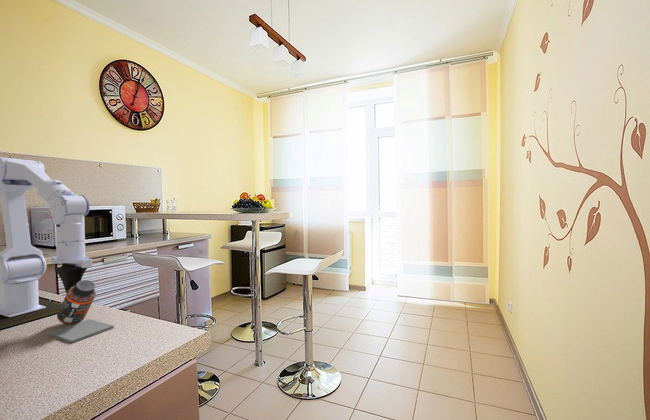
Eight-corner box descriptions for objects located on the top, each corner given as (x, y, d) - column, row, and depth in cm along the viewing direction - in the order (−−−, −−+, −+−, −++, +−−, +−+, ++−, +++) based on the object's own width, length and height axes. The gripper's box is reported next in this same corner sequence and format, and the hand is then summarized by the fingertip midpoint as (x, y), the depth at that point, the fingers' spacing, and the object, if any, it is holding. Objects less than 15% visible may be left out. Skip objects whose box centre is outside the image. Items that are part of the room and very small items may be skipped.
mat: (47, 335, 71) (47, 332, 71) (89, 321, 79) (89, 319, 79) (72, 343, 67) (72, 340, 67) (113, 327, 76) (113, 325, 76)
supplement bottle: (70, 329, 76) (85, 297, 73) (49, 317, 75) (64, 284, 73) (90, 315, 82) (105, 285, 79) (71, 304, 81) (85, 273, 78)
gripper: (36, 241, 77) (37, 293, 77) (68, 244, 71) (70, 300, 72) (68, 238, 83) (69, 286, 84) (100, 240, 78) (102, 292, 78)
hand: (72, 292), depth 78 cm, fingers closed
